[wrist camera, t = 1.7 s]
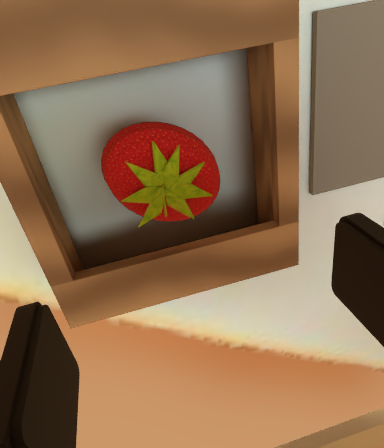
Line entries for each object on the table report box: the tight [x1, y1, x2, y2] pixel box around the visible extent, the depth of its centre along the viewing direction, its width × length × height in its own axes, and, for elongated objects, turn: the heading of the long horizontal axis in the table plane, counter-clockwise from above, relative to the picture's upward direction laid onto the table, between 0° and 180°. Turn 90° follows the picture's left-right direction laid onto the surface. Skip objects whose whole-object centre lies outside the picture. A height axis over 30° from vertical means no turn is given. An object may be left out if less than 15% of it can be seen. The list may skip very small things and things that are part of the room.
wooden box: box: [0, 0, 299, 328], centre depth 23 cm, size 20×18×6 cm
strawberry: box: [101, 122, 220, 228], centre depth 21 cm, size 6×8×10 cm
